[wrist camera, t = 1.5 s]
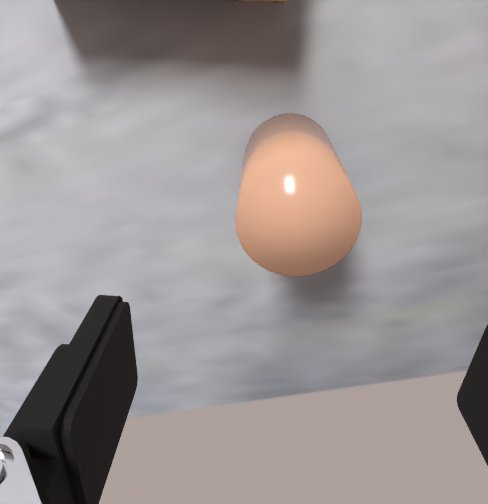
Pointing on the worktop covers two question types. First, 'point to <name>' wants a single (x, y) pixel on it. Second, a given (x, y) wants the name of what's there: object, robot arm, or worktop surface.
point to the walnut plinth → (267, 0)
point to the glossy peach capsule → (295, 199)
